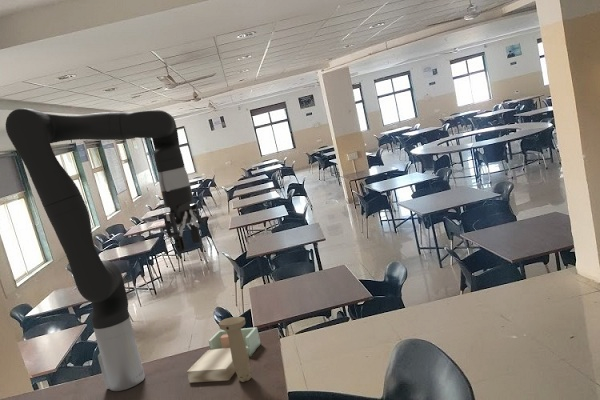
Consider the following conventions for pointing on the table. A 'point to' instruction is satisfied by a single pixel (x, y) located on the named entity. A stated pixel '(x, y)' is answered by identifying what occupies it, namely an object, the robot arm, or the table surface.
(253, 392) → the table surface
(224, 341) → the tile
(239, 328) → the handle
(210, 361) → the cream flat slab
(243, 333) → the box
